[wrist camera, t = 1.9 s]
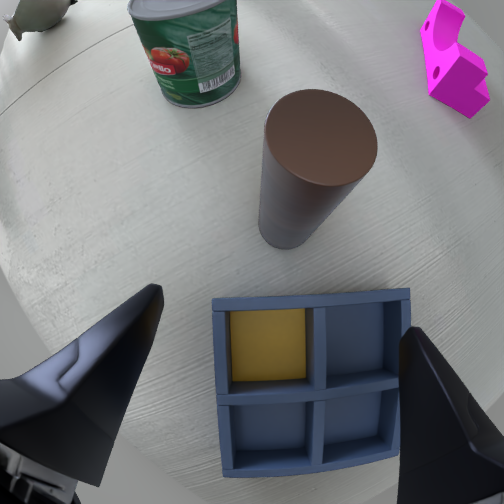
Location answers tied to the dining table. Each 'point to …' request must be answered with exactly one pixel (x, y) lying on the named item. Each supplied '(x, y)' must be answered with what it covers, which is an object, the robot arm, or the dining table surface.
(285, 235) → the brown wooden dowel
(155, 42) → the canned tomato
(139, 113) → the dining table surface
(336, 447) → the grid
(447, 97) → the toy block
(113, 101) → the dining table surface
